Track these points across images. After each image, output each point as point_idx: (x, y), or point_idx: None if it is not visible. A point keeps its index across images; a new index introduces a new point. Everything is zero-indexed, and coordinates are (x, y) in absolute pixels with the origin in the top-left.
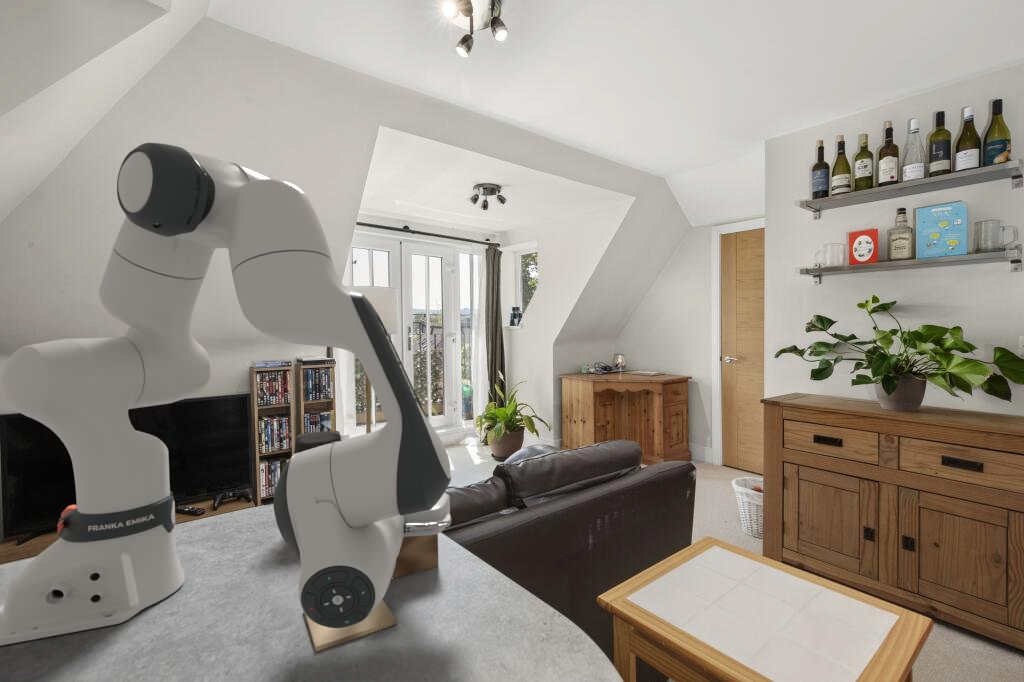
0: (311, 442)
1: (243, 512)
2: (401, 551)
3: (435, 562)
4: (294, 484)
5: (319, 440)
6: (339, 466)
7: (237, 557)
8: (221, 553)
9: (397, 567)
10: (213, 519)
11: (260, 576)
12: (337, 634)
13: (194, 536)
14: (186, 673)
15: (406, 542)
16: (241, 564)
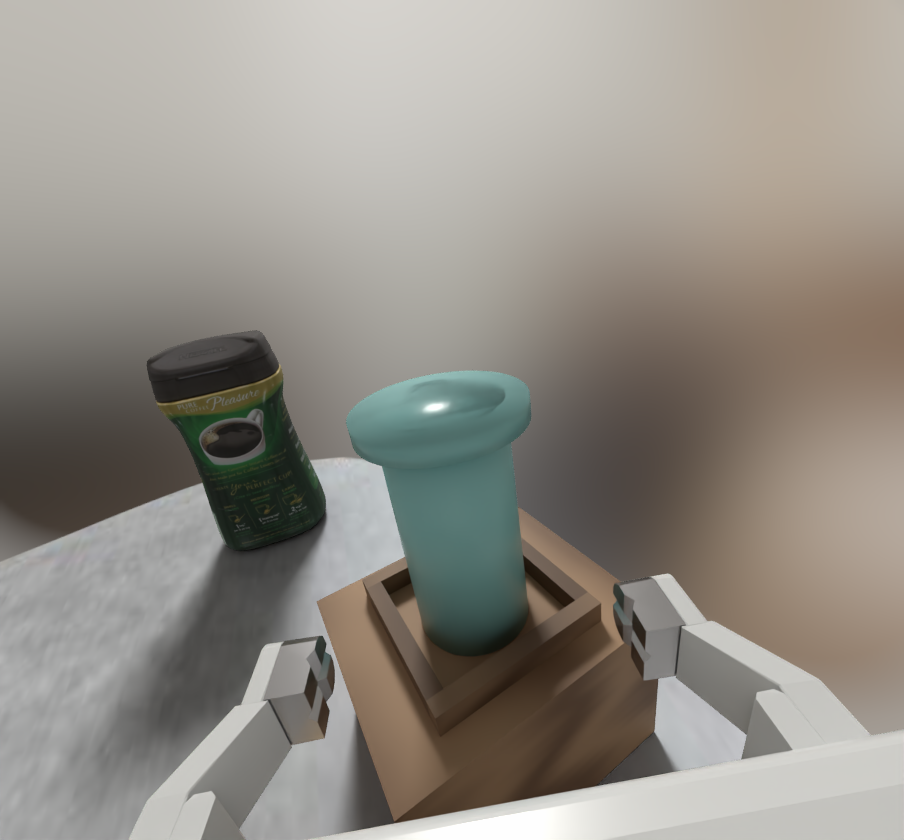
0: (185, 367)
1: (137, 510)
2: (552, 767)
3: (647, 727)
4: None
5: (206, 359)
6: None
7: (59, 692)
8: (30, 672)
9: None
10: (75, 536)
11: (78, 821)
12: None
13: (10, 598)
14: None
15: (567, 735)
16: (53, 734)
